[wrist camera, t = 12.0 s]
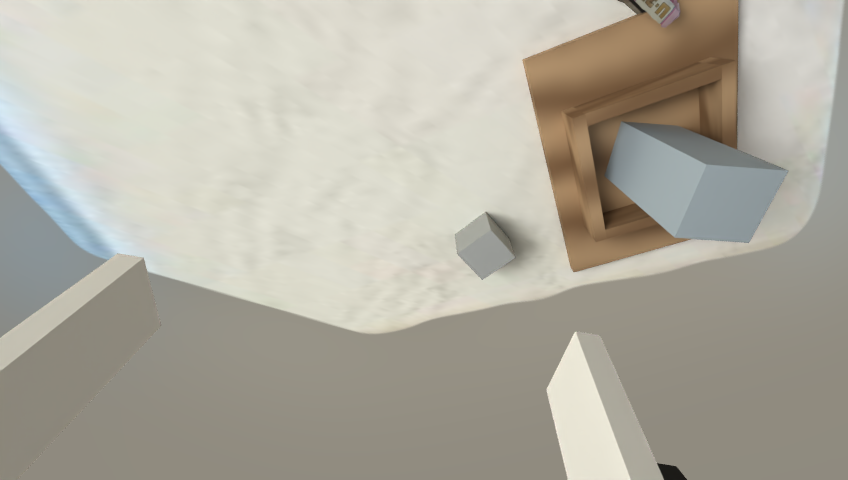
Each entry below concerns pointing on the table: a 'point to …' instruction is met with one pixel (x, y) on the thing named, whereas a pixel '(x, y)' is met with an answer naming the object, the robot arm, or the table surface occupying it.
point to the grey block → (484, 246)
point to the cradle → (629, 115)
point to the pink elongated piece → (656, 9)
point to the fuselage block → (692, 181)
